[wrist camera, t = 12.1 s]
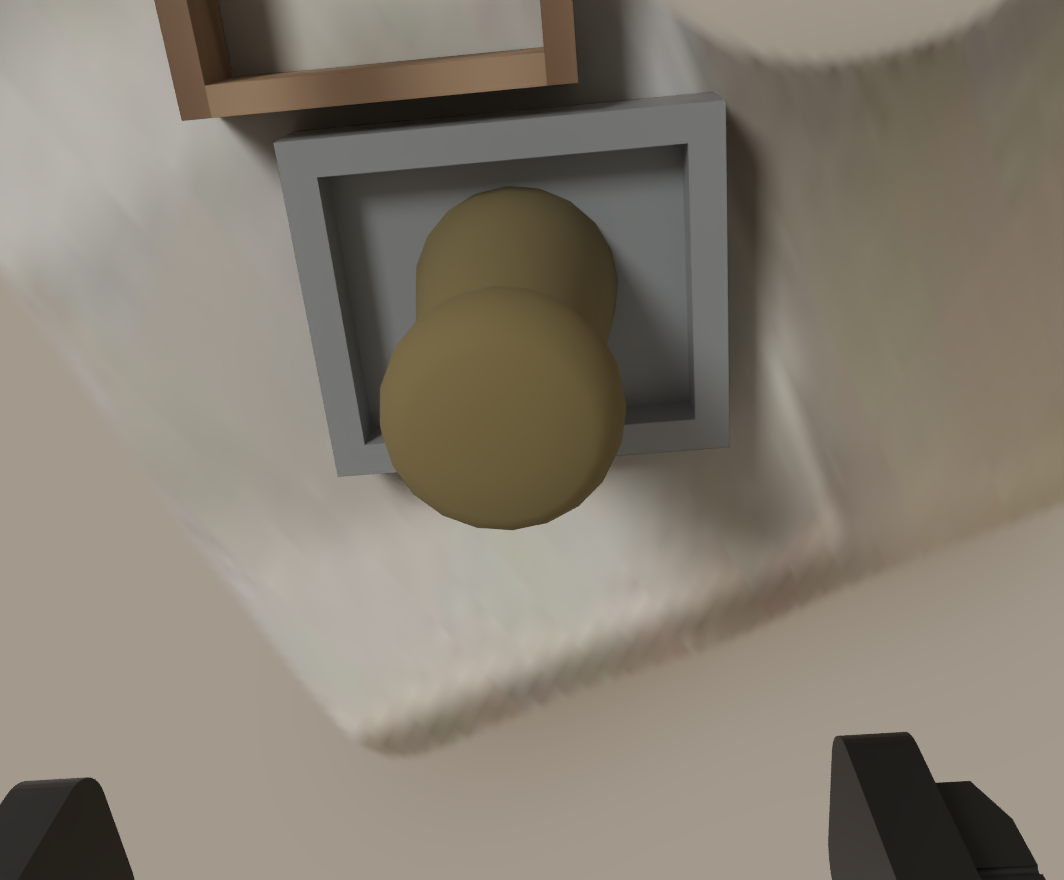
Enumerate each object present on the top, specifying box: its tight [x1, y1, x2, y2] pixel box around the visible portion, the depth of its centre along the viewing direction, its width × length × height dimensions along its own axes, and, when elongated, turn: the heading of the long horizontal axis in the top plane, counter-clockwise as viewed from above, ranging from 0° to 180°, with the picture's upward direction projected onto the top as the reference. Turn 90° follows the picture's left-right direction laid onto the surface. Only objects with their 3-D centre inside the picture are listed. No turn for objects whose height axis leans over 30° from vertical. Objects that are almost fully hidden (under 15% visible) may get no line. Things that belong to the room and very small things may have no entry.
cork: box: [380, 186, 626, 530], centre depth 24 cm, size 6×6×11 cm
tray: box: [273, 92, 729, 477], centre depth 29 cm, size 12×10×2 cm
